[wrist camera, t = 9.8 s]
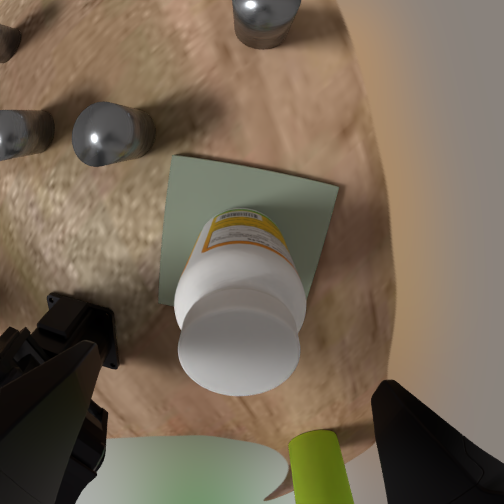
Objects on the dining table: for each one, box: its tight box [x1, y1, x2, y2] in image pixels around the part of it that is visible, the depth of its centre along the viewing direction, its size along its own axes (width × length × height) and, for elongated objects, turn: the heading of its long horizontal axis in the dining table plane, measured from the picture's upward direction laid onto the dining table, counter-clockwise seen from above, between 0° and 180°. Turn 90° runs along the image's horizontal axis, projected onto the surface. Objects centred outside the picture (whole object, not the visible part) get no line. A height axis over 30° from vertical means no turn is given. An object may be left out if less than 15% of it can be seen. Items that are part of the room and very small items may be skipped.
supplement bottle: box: [174, 208, 306, 396], centre depth 13 cm, size 5×5×10 cm
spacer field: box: [0, 0, 301, 167], centre depth 10 cm, size 19×24×4 cm
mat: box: [158, 155, 339, 306], centre depth 18 cm, size 10×10×1 cm
